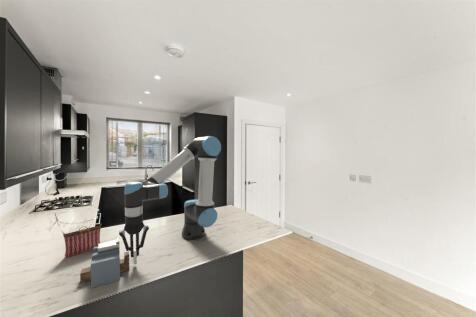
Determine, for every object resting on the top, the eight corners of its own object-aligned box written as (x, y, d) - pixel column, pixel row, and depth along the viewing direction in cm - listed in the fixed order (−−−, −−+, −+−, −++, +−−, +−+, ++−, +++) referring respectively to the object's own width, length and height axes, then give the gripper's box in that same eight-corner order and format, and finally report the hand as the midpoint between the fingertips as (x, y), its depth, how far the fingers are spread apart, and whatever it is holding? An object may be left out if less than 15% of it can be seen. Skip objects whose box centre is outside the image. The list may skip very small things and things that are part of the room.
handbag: (52, 260, 98) (50, 211, 97) (101, 244, 114) (100, 202, 113) (54, 265, 94) (53, 214, 92) (105, 248, 110) (104, 205, 109)
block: (119, 261, 97) (119, 239, 97) (120, 279, 84) (119, 253, 83) (95, 267, 92) (94, 244, 91) (91, 288, 78) (90, 260, 78)
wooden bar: (129, 265, 94) (128, 251, 94) (129, 269, 91) (129, 255, 90) (82, 277, 85) (81, 262, 85) (80, 283, 81) (79, 266, 81)
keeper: (119, 246, 92) (119, 237, 92) (119, 251, 88) (119, 241, 88) (98, 251, 88) (98, 241, 88) (97, 256, 84) (97, 246, 83)
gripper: (147, 210, 99) (148, 255, 100) (118, 214, 92) (119, 263, 93) (149, 214, 93) (150, 262, 94) (118, 219, 86) (119, 271, 87)
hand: (135, 262), depth 93 cm, fingers closed
